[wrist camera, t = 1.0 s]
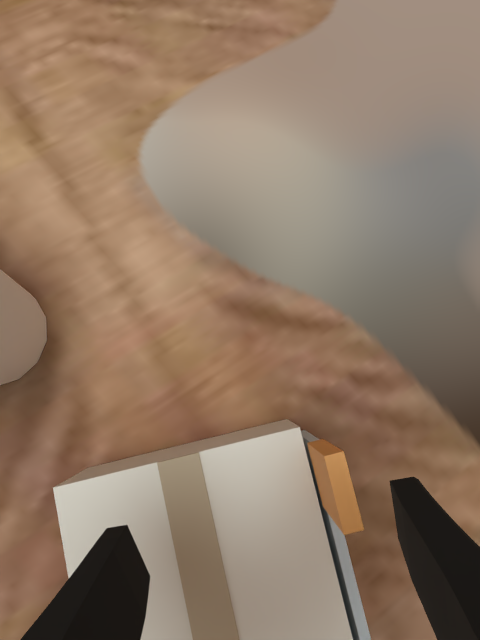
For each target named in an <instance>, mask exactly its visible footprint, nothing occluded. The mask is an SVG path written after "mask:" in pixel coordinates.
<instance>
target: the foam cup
mask: <svg viewBox="0 0 480 640" xmlns="http://www.w3.org/2000/svg"><path fill="white" fill-rule="evenodd" d="M46 342H47V327H46V316H45V315H44V313H43V311H42V309H41V307H40V306H39V304H38V302H37V300H36V298H34V297H33V296H32V295H31V294H30V293H29V292H28V291H26V290H25V289H24V288H23V287H22V286H20V285H19V284H18V283H17V282H15V281H14V280H13V279H12V278H11V277H9V276H8V275H7V274H6V273H4V272H3V271H2V270H1V269H0V385H2V384H6V383H9V382H12V381H15V380H18V379H20V378H21V377H22V376H23V375H24V374H25V373H26V372H28V371H29V370H30V369H31V368H32V367H33V366H34V365H35V364H36V363H37V362H38V360H39V358H40V356H41V353H42V351H43V349H44V346H45V344H46Z"/></svg>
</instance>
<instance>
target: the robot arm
mask: <svg viewBox="0 0 480 640" xmlns="http://www.w3.org/2000/svg"><path fill="white" fill-rule="evenodd" d="M390 486H391V493H392V499H393V506H394V512H395V519H396V526H397V532H398V539H399V542H400V545H401V548H402V551H403V554H404V557H405V561H406V564H407V567H408V570H409V573H410V576H411V579H412V582H413V584H414V586H415V589H416V591H417V593H418V596H419V598H420V600H421V603H422V605H423V607H424V610H425V612H426V614H427V617H428V619H429V621H430V623H431V626H432V628H433V630H434V633H435V635H436V637H437V640H480V547H479V546H478V545H477V544H476V543H475V542H474V541H473V540H472V539H471V538H470V537H469V536H468V535H467V534H466V533H465V532H464V531H463V530H462V529H461V528H460V527H459V526H458V525H457V524H456V523H455V522H454V520H453V519H452V518H451V517H450V516H449V515H448V514H447V513H446V512H445V511H444V510H443V508H442V507H441V506H440V505H439V504H438V503H437V502H436V501H435V499H434V498H433V497H432V496H431V495H430V494H429V492H428V491H427V490H426V489H425V487H424V486H423V485H422V484H421V482H420V481H419V480H418V479H417V478H415V477H410V478H404V479H398V480H392V481H390ZM149 584H150V574H149V572H148V570H147V568H146V565H145V563H144V561H143V559H142V556H141V554H140V552H139V550H138V548H137V545H136V543H135V541H134V539H133V536H132V534H131V532H130V530H129V528H128V525H122V526H116V527H110V528H106V530H105V531H104V532H103V534H102V535H101V536H100V537H99V539H98V540H97V541H96V543H95V544H94V545H93V547H92V548H91V550H90V551H89V552H88V554H87V555H86V556H85V558H84V559H83V560H82V562H81V563H80V564H79V566H78V567H77V569H76V570H75V571H74V573H73V574H72V575H71V577H70V578H69V579H68V580H67V582H66V583H65V584H64V586H63V587H62V588H61V590H60V591H59V592H58V594H57V595H56V596H55V598H54V599H53V600H52V602H51V603H50V604H49V605H48V607H47V608H46V609H45V610H44V611H43V613H42V614H41V615H40V616H39V618H38V619H37V620H36V621H35V622H34V624H33V625H32V626H31V627H30V629H29V630H28V631H27V632H26V634H25V635H24V636H23V637H22V638H21V640H140V639H141V635H142V631H143V626H144V622H145V617H146V609H147V602H148V594H149Z"/></svg>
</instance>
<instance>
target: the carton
mask: <svg viewBox="0 0 480 640" xmlns="http://www.w3.org/2000/svg"><path fill="white" fill-rule="evenodd" d="M53 490H54V496H55V502H56V507H57V513H58V519H59V525H60V531H61V537H62V543H63V548H64V554H65V560H66V566H67V572H68V578H70V577H71V575H72V574H73V573H74V571H75V570H76V569H77V567H78V566H79V564H80V563H81V562H82V560H83V559H84V558H85V556H86V555H87V554H88V552H89V551H90V550H91V548H92V547H93V545H94V544H95V543H96V541H97V540H98V539H99V537H100V536H101V535H102V534H103V532H104V531H105V530H106V528H110V527H116V526H122V525H128V528H129V530H130V532H131V534H132V536H133V539H134V541H135V543H136V545H137V548H138V550H139V552H140V554H141V556H142V559H143V561H144V563H145V565H146V568H147V570H148V572H149V574H150V584H149V594H148V602H147V609H146V617H145V622H144V626H143V631H142V635H141V639H140V640H353V638H352V634H351V630H350V626H349V622H348V618H347V614H346V610H345V606H344V602H343V598H342V594H341V590H340V586H339V582H338V578H337V574H336V570H335V566H334V562H333V558H332V554H331V550H330V546H329V542H328V538H327V534H326V530H325V526H324V522H323V518H322V514H321V510H320V506H319V502H318V498H317V494H316V490H315V486H314V482H313V478H312V474H311V470H310V466H309V462H308V458H307V454H306V450H305V446H304V442H303V438H302V434H301V430H300V427H299V426H297V425H296V424H294V423H293V422H291V421H290V420H288V419H285V420H281V421H277V422H273V423H269V424H265V425H260V426H256V427H252V428H248V429H244V430H240V431H236V432H232V433H228V434H224V435H220V436H216V437H211V438H207V439H203V440H199V441H195V442H191V443H187V444H183V445H179V446H175V447H171V448H167V449H163V450H158V451H154V452H150V453H146V454H142V455H138V456H134V457H130V458H126V459H122V460H118V461H114V462H109V463H105V464H101V465H97V466H93V467H89V468H87V469H85V470H83V471H81V472H80V473H78V474H76V475H74V476H73V477H71V478H69V479H68V480H66V481H64V482H62V483H61V484H59V485H57V486H55V487H54V488H53Z"/></svg>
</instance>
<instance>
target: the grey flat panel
mask: <svg viewBox="0 0 480 640" xmlns="http://www.w3.org/2000/svg"><path fill="white" fill-rule="evenodd" d="M301 434H302V438H303V442H304V446H305V450H306V454H307V458H308V462H309V466H310V470H311V474H312V478H313V482H314V486H315V490H316V494H317V498H318V502H319V506H320V510H321V514H322V518H323V522H324V526H325V530H326V534H327V538H328V542H329V546H330V550H331V554H332V558H333V562H334V566H335V570H336V574H337V578H338V582H339V586H340V590H341V594H342V598H343V602H344V606H345V610H346V614H347V618H348V622H349V626H350V630H351V634H352V638H353V640H371V637H370V633H369V630H368V626H367V622H366V618H365V614H364V610H363V606H362V602H361V598H360V594H359V590H358V586H357V583H356V579H355V575H354V571H353V567H352V563H351V559H350V555H349V551H348V547H347V543H346V539H345V536H344V535H347V534H351V533H355V532H358V531H362V530H364V527H363V523H362V519H361V515H360V512H359V508H358V504H357V500H356V496H355V493H354V489H353V485H352V481H351V477H350V473H349V470H348V466H347V462H346V458H345V454H344V451H342V450H341V449H339V448H337V447H336V446H334V445H332V444H331V443H329V442H327V441H326V440H324V439H321V440H320V439H318V438H317V437H315V436H314V435H312V434H310V433H309V432H307V431H306V430H302V431H301Z"/></svg>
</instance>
